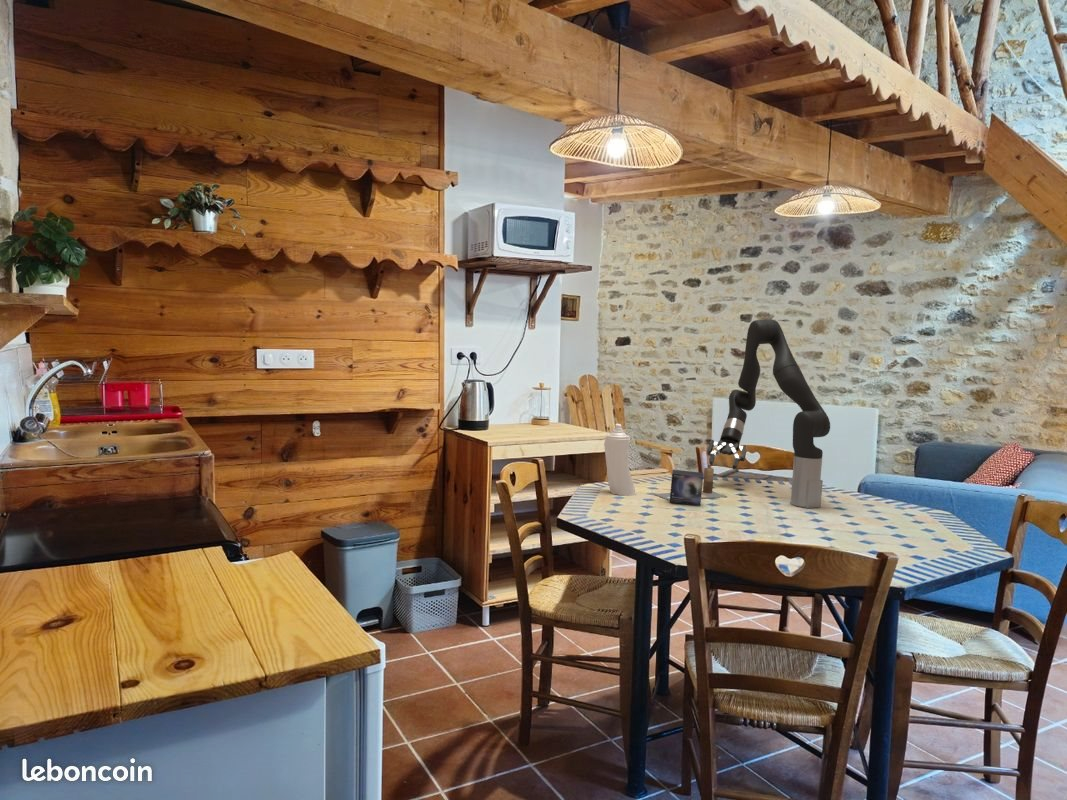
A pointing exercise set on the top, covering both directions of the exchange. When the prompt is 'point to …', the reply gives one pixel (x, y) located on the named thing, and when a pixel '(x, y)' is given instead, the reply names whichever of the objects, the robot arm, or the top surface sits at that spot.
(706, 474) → the peg
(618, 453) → the spray can
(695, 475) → the small box
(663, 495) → the board
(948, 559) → the top surface
